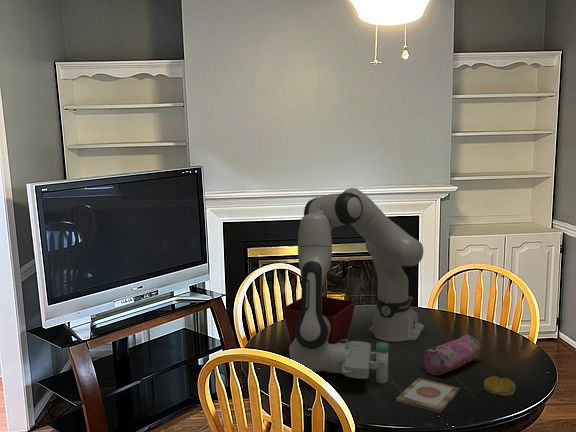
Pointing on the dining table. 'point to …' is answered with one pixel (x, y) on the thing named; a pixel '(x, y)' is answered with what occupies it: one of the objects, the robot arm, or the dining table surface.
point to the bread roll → (499, 386)
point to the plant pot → (332, 309)
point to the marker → (382, 355)
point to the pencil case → (451, 355)
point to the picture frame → (428, 395)
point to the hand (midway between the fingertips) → (385, 361)
